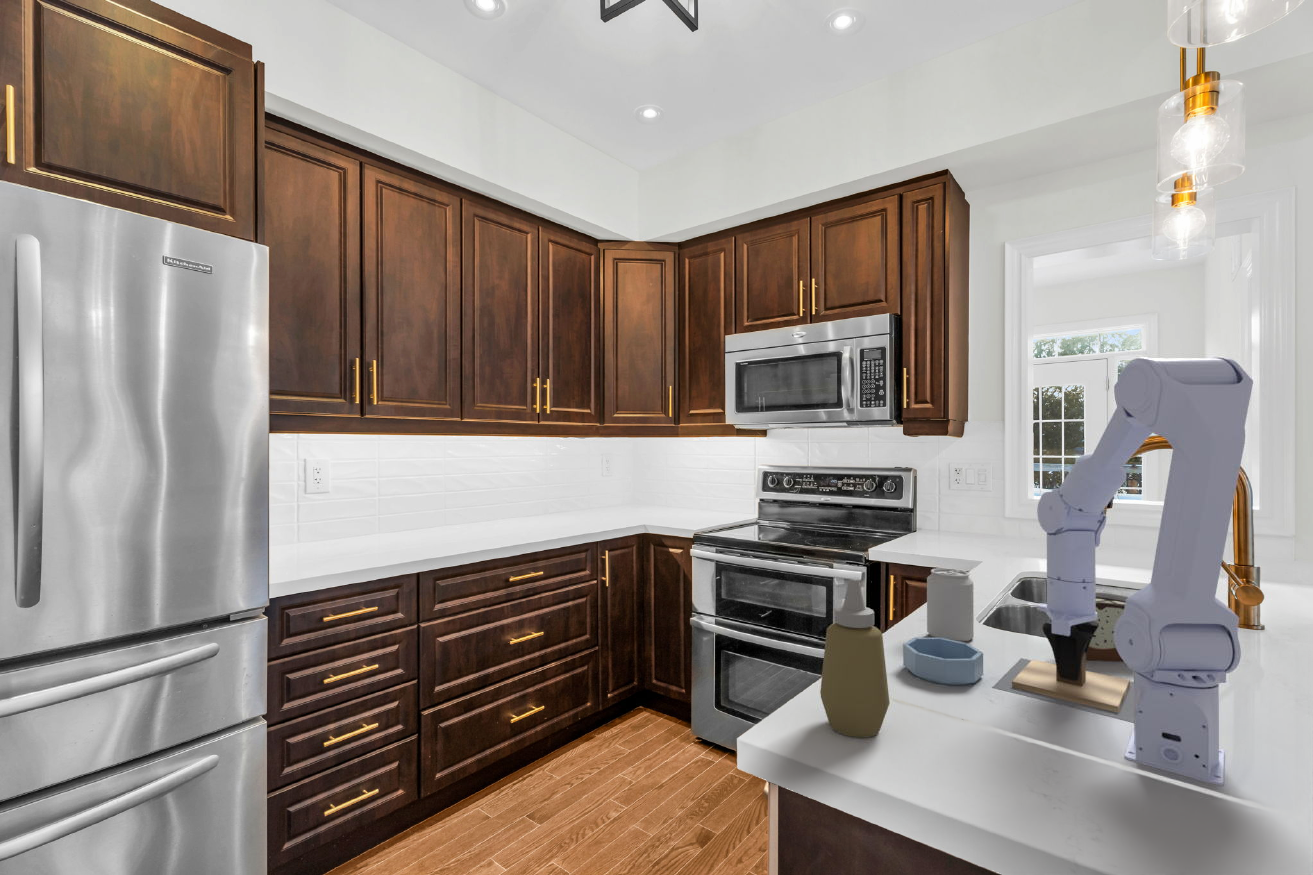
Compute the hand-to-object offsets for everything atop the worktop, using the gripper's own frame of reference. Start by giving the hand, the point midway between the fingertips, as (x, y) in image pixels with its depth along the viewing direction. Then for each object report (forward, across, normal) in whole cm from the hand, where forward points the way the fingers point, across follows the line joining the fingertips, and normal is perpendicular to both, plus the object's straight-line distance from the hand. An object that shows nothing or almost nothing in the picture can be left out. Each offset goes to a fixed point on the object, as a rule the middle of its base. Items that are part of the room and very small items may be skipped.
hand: (1071, 674), depth 87 cm
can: (+2, -12, -20) cm, 23 cm away
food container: (+2, -18, 0) cm, 18 cm away
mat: (+2, 0, 0) cm, 2 cm away
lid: (+2, 0, 0) cm, 2 cm away
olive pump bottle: (+2, +32, -17) cm, 36 cm away
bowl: (+2, +7, -15) cm, 17 cm away
